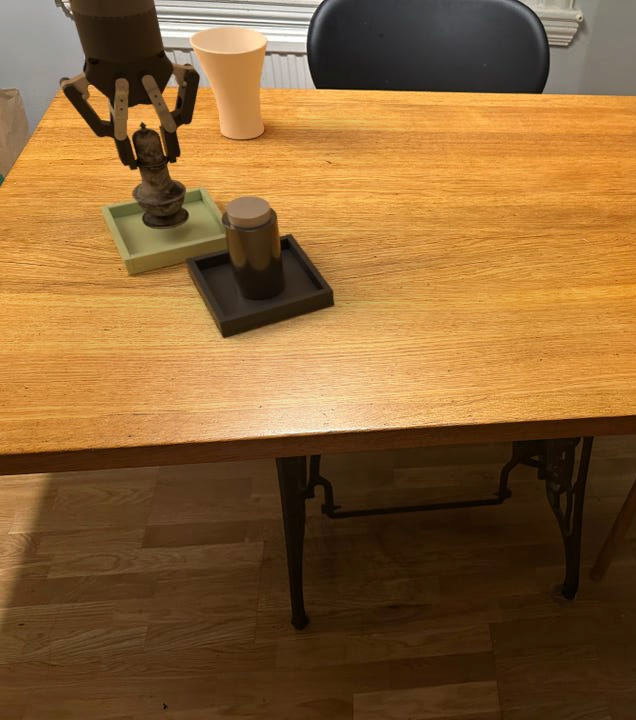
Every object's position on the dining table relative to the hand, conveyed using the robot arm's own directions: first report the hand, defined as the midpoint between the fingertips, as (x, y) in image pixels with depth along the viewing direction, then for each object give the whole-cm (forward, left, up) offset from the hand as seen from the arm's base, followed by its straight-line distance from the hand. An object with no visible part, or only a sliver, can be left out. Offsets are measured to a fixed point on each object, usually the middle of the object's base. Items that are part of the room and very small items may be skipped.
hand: (152, 162), depth 79 cm
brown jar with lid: (+6, -15, -9) cm, 19 cm away
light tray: (0, 0, -10) cm, 10 cm away
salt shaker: (0, 0, -7) cm, 7 cm away
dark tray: (+6, -15, -10) cm, 19 cm away
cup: (+17, +24, -10) cm, 31 cm away
